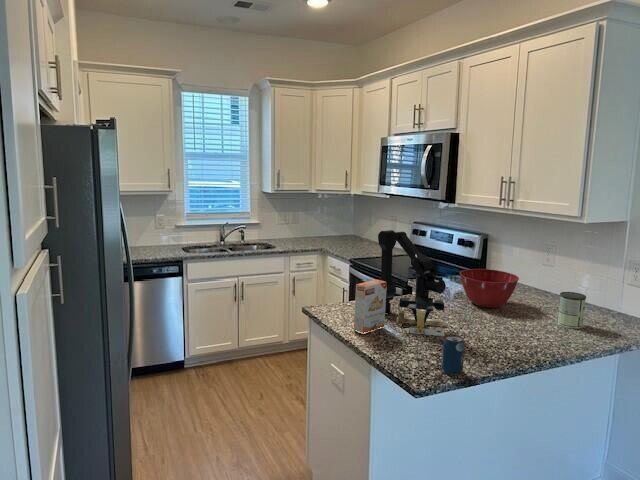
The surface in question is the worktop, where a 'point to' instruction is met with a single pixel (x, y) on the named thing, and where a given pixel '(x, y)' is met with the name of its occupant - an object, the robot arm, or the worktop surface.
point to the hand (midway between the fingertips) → (420, 322)
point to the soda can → (453, 355)
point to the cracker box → (370, 305)
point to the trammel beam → (402, 320)
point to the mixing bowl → (488, 286)
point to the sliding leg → (420, 319)
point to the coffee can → (571, 310)
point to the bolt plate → (427, 331)
